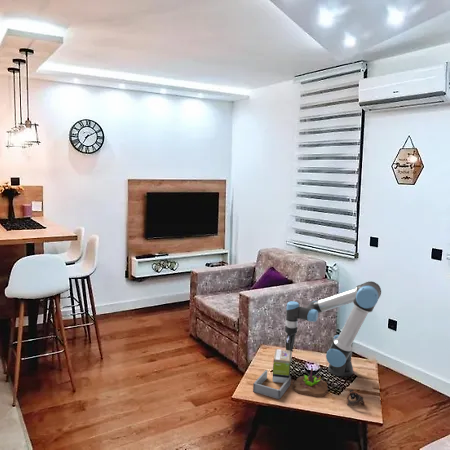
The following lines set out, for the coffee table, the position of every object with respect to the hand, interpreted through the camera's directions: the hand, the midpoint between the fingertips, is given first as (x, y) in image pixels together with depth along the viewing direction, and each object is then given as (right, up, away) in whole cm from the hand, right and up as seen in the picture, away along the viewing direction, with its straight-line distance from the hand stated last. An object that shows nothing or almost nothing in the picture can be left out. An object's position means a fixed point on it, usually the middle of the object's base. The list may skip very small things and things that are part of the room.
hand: (288, 361), depth 292 cm
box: (-13, -8, -25) cm, 29 cm away
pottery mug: (+31, -12, -38) cm, 51 cm away
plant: (+10, -9, -22) cm, 26 cm away
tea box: (-6, -6, -11) cm, 14 cm away
